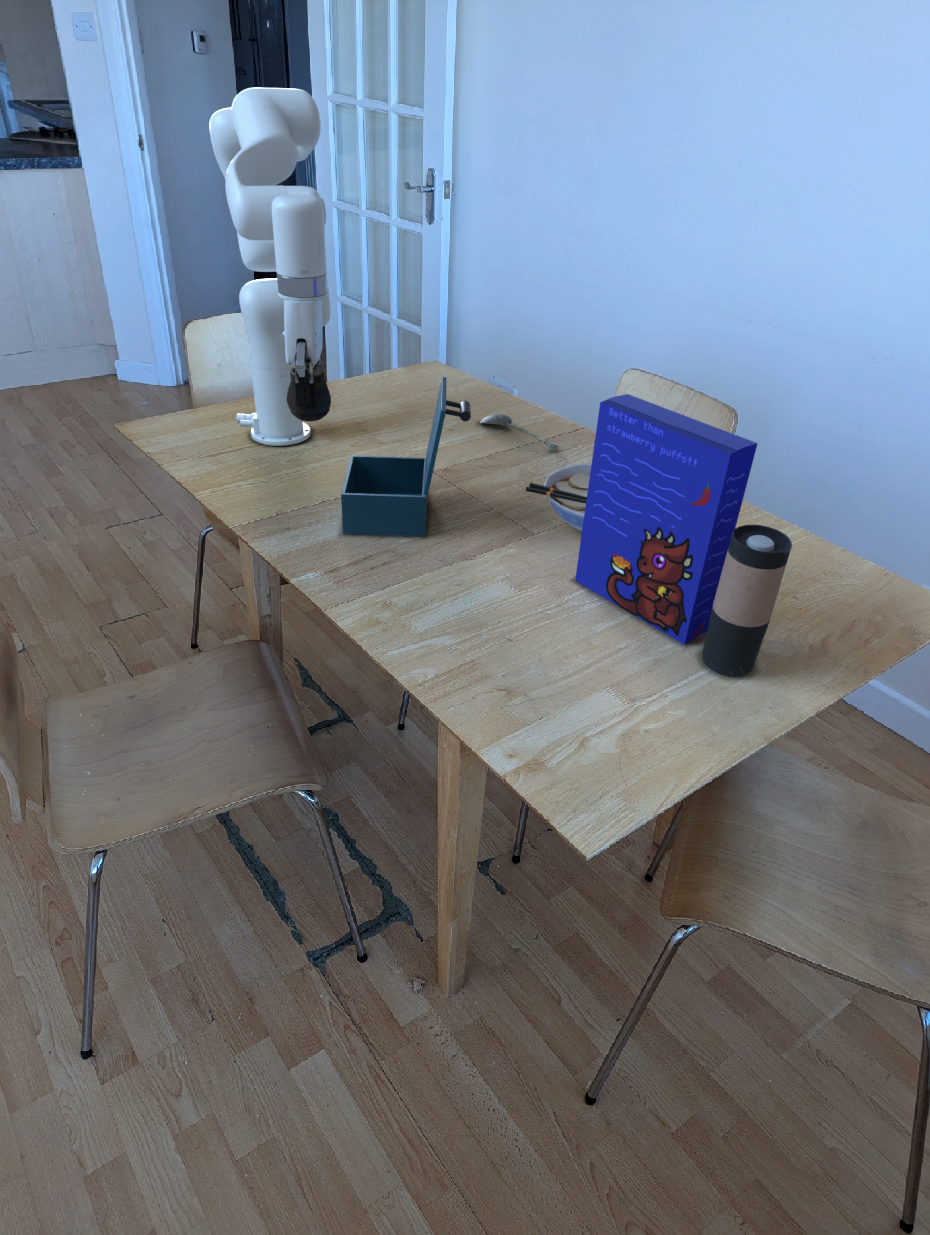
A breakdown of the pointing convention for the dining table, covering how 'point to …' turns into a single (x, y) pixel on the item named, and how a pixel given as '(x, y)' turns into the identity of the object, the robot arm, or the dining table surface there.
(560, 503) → the ramen bowl
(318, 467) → the dining table surface
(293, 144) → the robot arm
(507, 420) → the soupspoon
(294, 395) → the mate gourd
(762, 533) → the travel mug
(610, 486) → the cereal box
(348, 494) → the blue open rectangular box
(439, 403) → the lid
